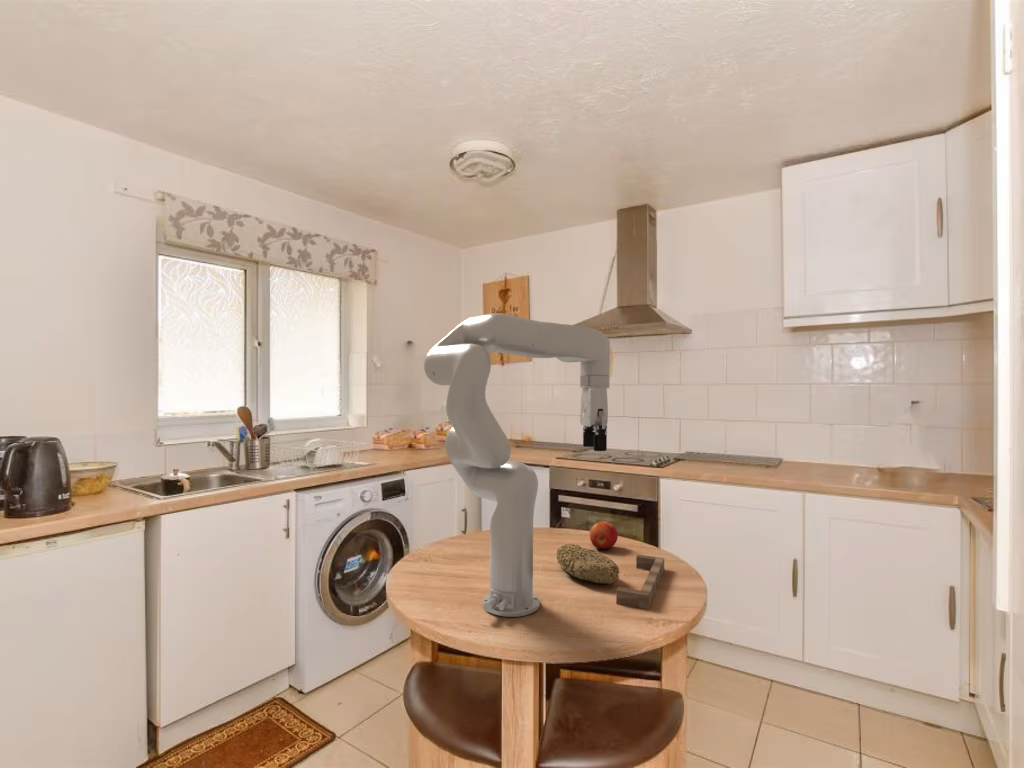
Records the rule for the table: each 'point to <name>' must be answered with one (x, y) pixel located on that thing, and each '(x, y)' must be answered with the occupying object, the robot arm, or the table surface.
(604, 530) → the apple
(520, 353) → the robot arm
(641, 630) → the table surface
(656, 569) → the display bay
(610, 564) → the sponge
